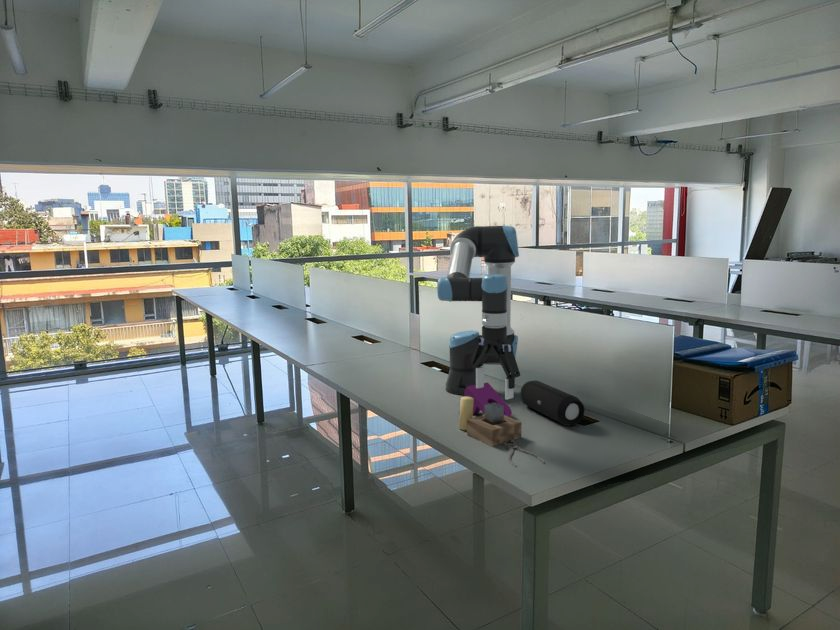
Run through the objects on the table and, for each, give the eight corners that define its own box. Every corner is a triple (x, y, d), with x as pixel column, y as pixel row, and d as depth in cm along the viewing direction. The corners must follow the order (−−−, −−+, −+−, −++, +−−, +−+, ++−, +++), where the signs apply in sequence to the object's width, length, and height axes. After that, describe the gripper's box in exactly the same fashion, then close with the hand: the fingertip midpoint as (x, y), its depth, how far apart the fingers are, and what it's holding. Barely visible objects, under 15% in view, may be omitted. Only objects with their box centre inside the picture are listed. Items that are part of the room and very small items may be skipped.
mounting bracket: (509, 434, 196) (481, 400, 208) (517, 415, 191) (487, 382, 204) (487, 439, 191) (460, 404, 204) (494, 421, 187) (466, 386, 199)
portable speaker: (517, 407, 206) (518, 380, 204) (540, 403, 210) (541, 377, 208) (561, 430, 183) (562, 400, 181) (586, 425, 187) (587, 395, 185)
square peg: (494, 432, 181) (494, 402, 180) (503, 436, 178) (503, 405, 176) (484, 435, 179) (484, 404, 177) (493, 439, 175) (493, 408, 174)
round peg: (464, 424, 188) (466, 395, 187) (474, 428, 185) (476, 398, 184) (456, 427, 185) (458, 398, 184) (466, 431, 182) (468, 401, 181)
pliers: (518, 467, 154) (482, 442, 172) (518, 470, 154) (482, 445, 172) (548, 461, 158) (509, 437, 176) (548, 464, 158) (509, 439, 176)
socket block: (495, 426, 186) (495, 411, 186) (521, 437, 177) (521, 422, 176) (466, 434, 180) (466, 419, 179) (492, 446, 170) (492, 430, 169)
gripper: (459, 321, 181) (459, 385, 184) (513, 334, 160) (513, 406, 164) (477, 318, 185) (477, 381, 189) (532, 330, 164) (531, 400, 168)
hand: (494, 392), depth 176 cm, fingers open, 13 cm apart
